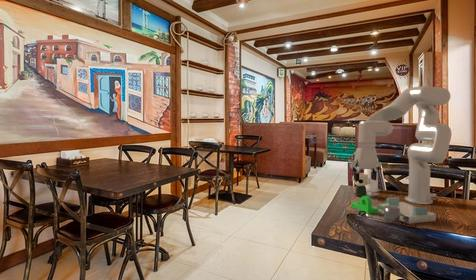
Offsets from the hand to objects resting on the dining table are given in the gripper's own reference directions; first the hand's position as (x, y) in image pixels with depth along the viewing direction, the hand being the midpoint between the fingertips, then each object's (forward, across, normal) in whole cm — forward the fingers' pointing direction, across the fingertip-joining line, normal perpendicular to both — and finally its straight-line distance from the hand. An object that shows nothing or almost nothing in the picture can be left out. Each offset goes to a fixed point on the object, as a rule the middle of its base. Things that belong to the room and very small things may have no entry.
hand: (365, 180), depth 133 cm
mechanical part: (+15, 0, 0) cm, 15 cm away
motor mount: (+15, -9, +12) cm, 21 cm away
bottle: (+14, -27, -29) cm, 42 cm away
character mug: (+15, -14, -21) cm, 29 cm away
